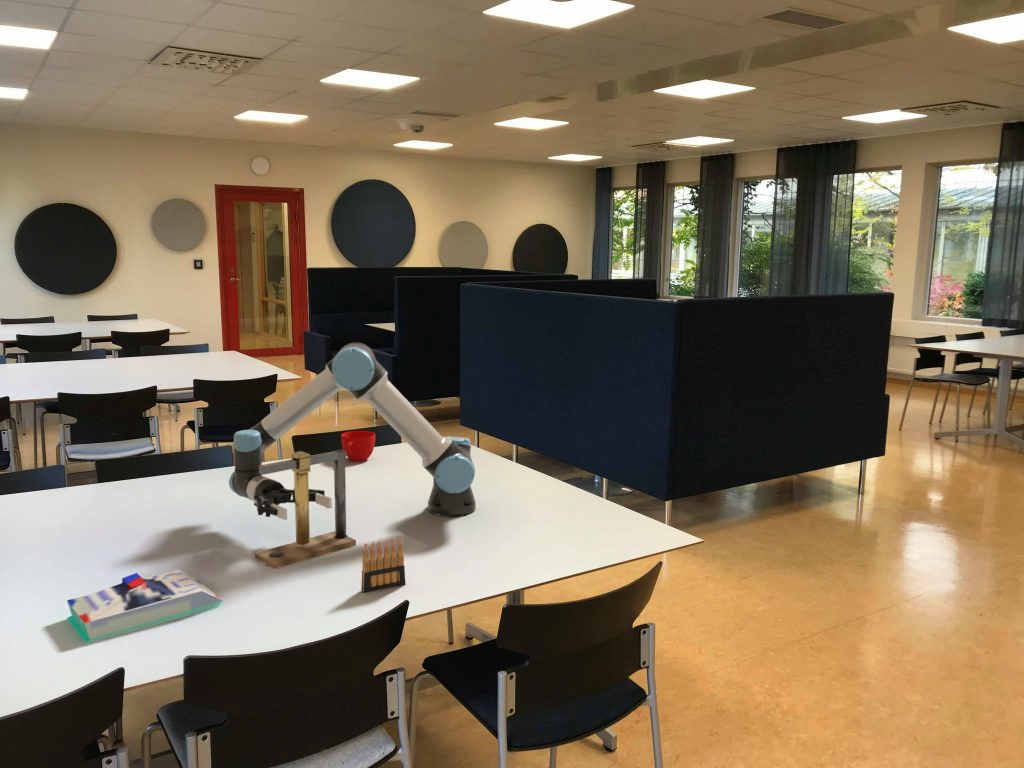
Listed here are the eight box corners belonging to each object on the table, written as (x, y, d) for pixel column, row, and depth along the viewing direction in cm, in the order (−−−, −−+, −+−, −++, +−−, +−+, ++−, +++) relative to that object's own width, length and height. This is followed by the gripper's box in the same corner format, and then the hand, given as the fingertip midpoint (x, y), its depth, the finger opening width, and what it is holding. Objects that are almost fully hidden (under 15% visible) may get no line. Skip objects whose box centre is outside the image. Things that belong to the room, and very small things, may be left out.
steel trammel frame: (342, 534, 230) (340, 449, 226) (348, 536, 228) (347, 451, 224) (261, 556, 213) (257, 465, 209) (266, 559, 211) (263, 467, 207)
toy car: (60, 620, 179) (57, 582, 178) (197, 585, 199) (195, 551, 198) (80, 649, 167) (77, 608, 166) (224, 608, 187) (223, 572, 185)
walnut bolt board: (336, 535, 233) (336, 530, 233) (357, 544, 226) (357, 539, 226) (254, 558, 215) (254, 552, 215) (274, 569, 208) (273, 563, 208)
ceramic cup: (332, 465, 308) (332, 439, 307) (348, 454, 325) (348, 430, 323) (365, 467, 306) (365, 441, 304) (380, 456, 323) (379, 431, 321)
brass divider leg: (304, 541, 222) (302, 451, 218) (313, 545, 219) (310, 453, 215) (292, 544, 220) (290, 453, 216) (301, 548, 217) (298, 456, 213)
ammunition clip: (363, 593, 195) (363, 545, 193) (361, 590, 196) (360, 542, 194) (405, 584, 200) (405, 538, 198) (402, 582, 202) (402, 535, 200)
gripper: (305, 495, 240) (348, 512, 225) (225, 514, 222) (266, 533, 207) (304, 470, 238) (347, 485, 224) (224, 487, 221) (265, 505, 206)
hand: (308, 508), depth 216 cm, fingers open, 13 cm apart
